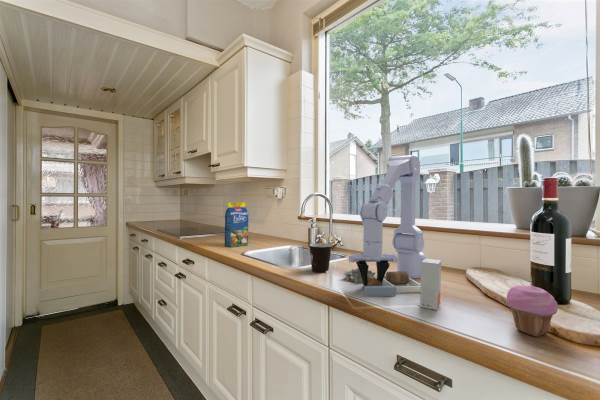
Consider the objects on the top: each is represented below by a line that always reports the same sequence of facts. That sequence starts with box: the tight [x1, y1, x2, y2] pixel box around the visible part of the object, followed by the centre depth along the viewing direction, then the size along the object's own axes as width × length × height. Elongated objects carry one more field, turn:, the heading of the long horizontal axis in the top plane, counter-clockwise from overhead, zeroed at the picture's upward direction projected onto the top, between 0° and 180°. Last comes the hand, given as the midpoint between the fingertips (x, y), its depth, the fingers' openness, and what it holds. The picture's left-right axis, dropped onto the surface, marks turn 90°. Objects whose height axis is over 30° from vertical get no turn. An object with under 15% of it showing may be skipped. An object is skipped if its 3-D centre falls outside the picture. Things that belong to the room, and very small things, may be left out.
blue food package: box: [224, 202, 249, 248], centre depth 174 cm, size 6×12×25 cm, turn 137°
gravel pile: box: [343, 267, 376, 284], centre depth 104 cm, size 11×8×4 cm
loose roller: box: [367, 275, 383, 286], centre depth 93 cm, size 6×4×4 cm
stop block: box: [363, 285, 397, 298], centre depth 87 cm, size 9×2×3 cm, turn 97°
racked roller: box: [385, 271, 409, 284], centre depth 98 cm, size 6×4×4 cm
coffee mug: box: [309, 243, 333, 274], centre depth 118 cm, size 12×9×10 cm
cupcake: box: [506, 285, 559, 337], centre depth 65 cm, size 9×9×10 cm
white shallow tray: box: [382, 275, 421, 294], centre depth 96 cm, size 10×13×2 cm
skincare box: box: [419, 258, 442, 311], centre depth 80 cm, size 6×4×12 cm
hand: (372, 285), depth 93 cm, fingers closed on loose roller, 4 cm apart
